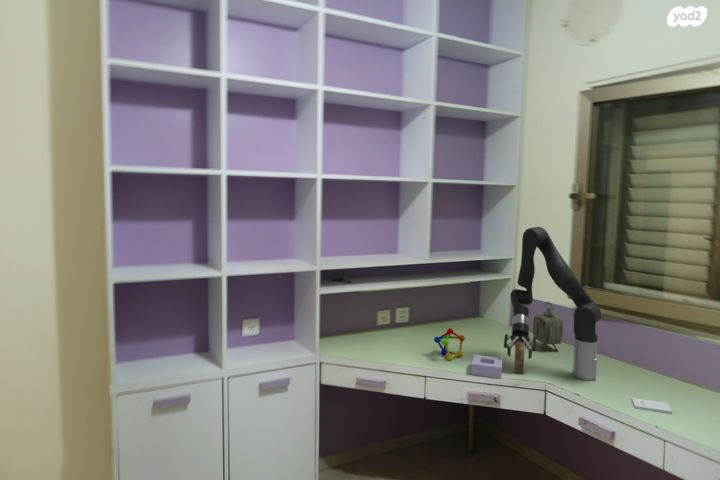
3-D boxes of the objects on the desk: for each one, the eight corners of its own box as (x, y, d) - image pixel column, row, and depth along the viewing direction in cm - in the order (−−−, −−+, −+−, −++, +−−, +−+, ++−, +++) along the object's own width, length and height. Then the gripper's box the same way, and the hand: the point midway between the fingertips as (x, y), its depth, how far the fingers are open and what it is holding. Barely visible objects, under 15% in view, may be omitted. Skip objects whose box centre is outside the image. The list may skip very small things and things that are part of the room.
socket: (501, 368, 227) (502, 358, 227) (501, 378, 215) (501, 367, 214) (473, 364, 231) (474, 354, 231) (471, 374, 219) (471, 364, 218)
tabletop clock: (561, 352, 251) (564, 305, 248) (545, 353, 249) (548, 306, 247) (546, 343, 265) (549, 299, 262) (531, 344, 263) (533, 299, 261)
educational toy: (442, 352, 252) (445, 323, 251) (465, 358, 244) (467, 328, 243) (427, 357, 240) (430, 327, 239) (450, 363, 232) (453, 332, 231)
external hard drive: (671, 415, 183) (634, 409, 187) (666, 406, 190) (631, 400, 195) (672, 411, 183) (634, 405, 187) (667, 402, 190) (631, 396, 195)
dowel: (523, 371, 224) (524, 342, 222) (523, 374, 220) (524, 344, 219) (514, 370, 225) (515, 341, 224) (514, 373, 221) (515, 343, 220)
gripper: (505, 320, 230) (503, 351, 220) (536, 323, 225) (536, 355, 216) (504, 328, 235) (503, 358, 226) (535, 331, 231) (535, 362, 221)
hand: (519, 357), depth 221 cm, fingers open, 8 cm apart
